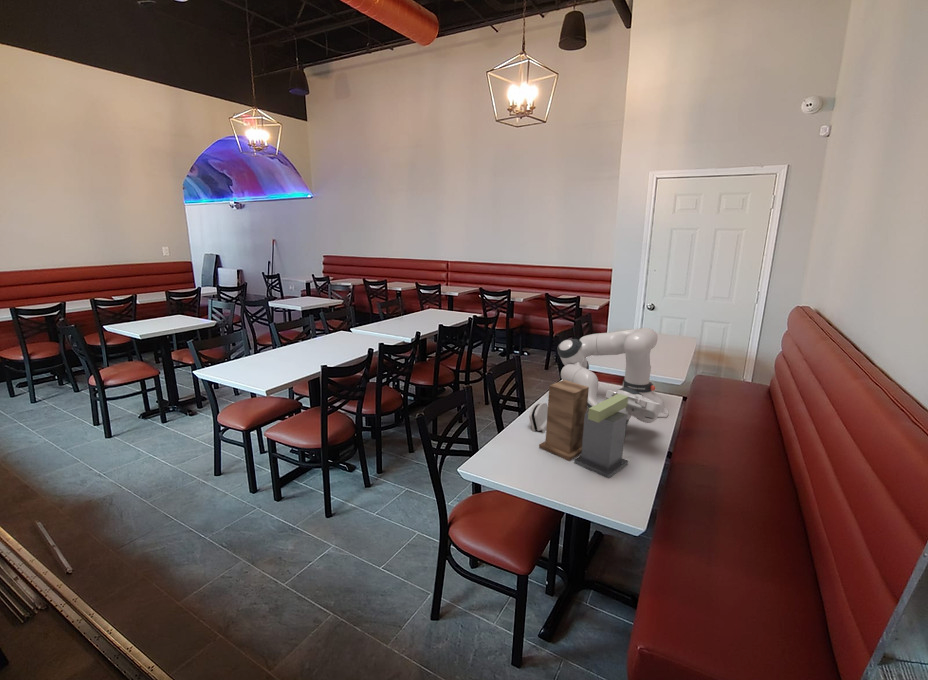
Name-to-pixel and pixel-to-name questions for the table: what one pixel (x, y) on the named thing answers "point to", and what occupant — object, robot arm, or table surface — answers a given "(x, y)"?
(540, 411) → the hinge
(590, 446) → the block
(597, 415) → the pale green plank
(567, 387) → the brown wooden pedestal
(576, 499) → the table surface
